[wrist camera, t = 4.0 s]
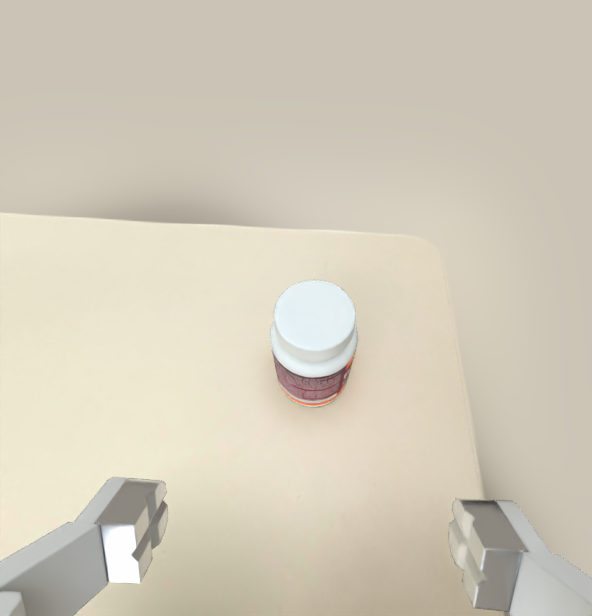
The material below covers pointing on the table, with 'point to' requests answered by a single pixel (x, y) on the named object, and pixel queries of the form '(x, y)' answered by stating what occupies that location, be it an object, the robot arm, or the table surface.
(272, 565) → the table surface
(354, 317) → the pill bottle
